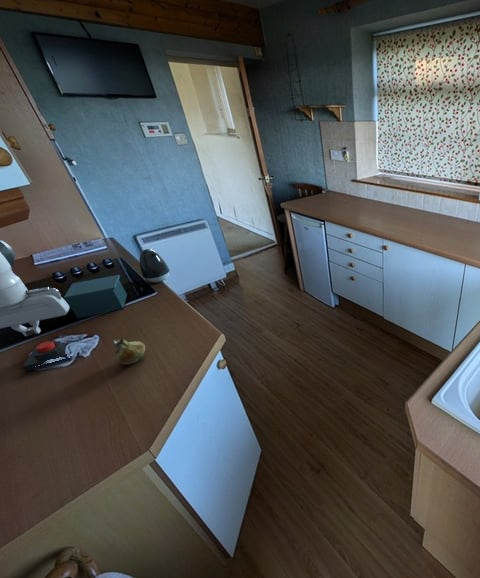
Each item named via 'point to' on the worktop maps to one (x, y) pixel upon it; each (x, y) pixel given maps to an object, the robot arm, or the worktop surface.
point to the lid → (92, 286)
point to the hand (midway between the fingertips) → (33, 333)
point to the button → (45, 346)
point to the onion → (129, 351)
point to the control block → (46, 357)
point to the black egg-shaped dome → (153, 266)
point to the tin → (98, 302)
